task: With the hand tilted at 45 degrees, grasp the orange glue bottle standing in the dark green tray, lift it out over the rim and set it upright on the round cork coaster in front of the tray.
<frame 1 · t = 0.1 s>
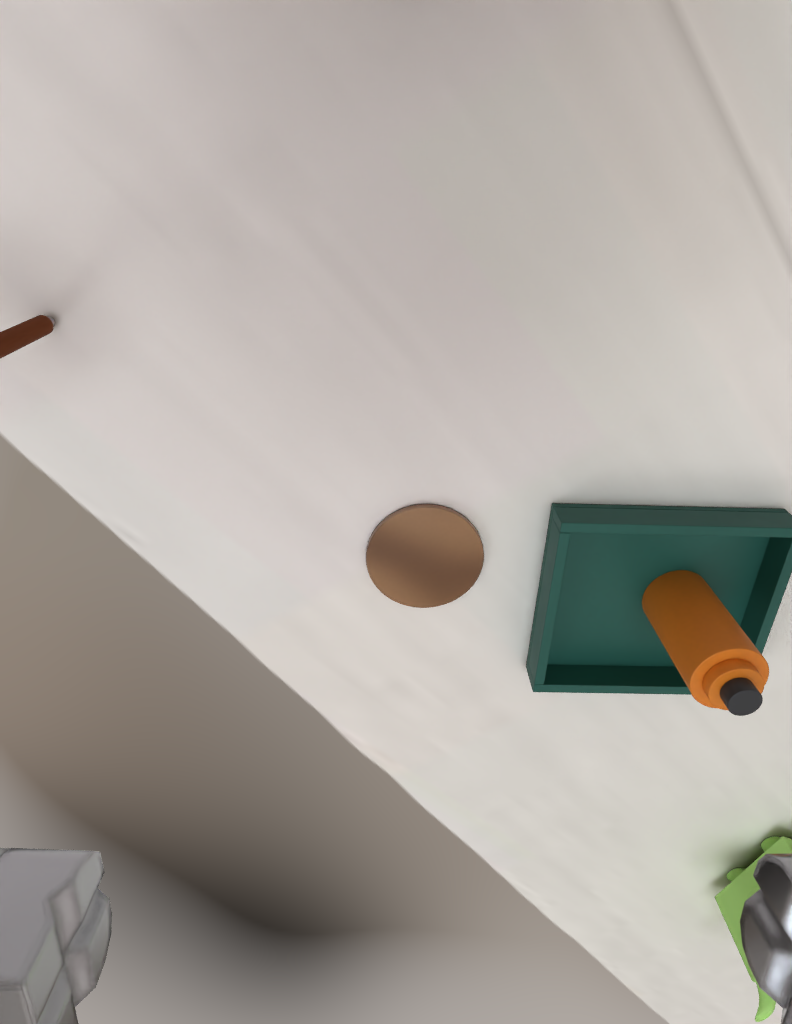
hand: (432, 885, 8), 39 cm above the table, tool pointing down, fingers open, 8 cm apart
glue bottle: (674, 597, 53), point 1 cm above the table, touching tray
kettle: (767, 864, 70), on the table
magnifying glass: (52, 320, 43), on the table
coaster: (424, 555, 51), on the table
tray: (647, 592, 53), on the table
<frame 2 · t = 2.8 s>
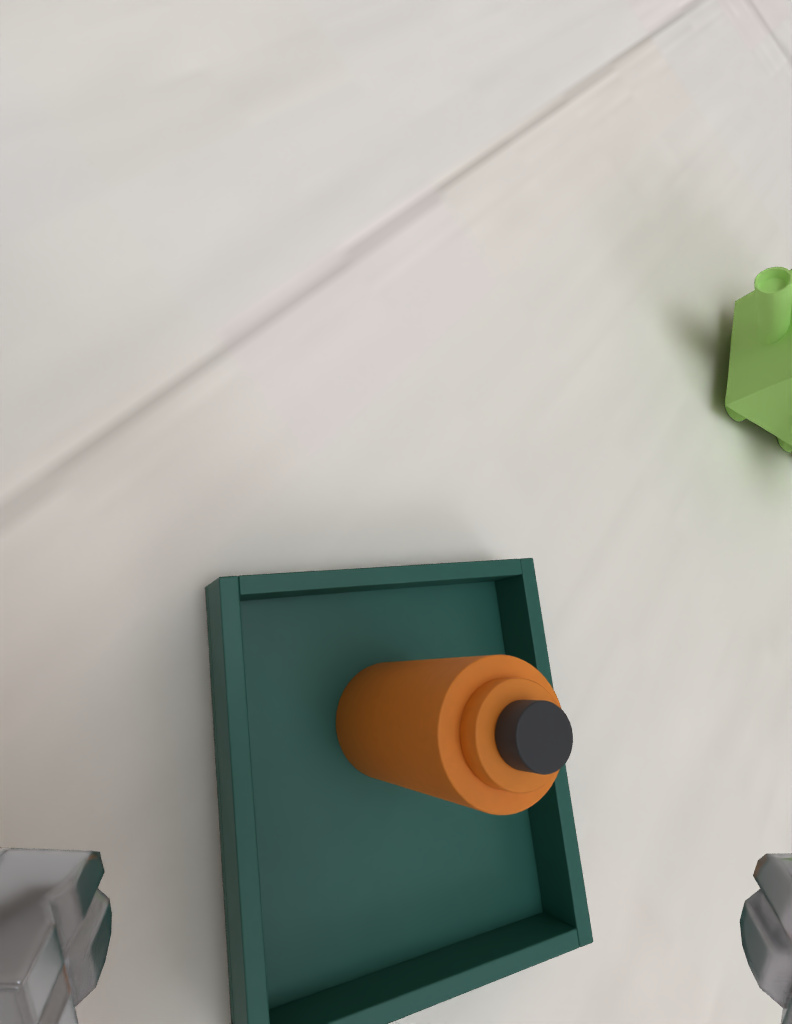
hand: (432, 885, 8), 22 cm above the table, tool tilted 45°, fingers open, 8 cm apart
glue bottle: (387, 719, 31), point 1 cm above the table, touching tray
kettle: (763, 401, 50), on the table
tray: (387, 763, 31), on the table
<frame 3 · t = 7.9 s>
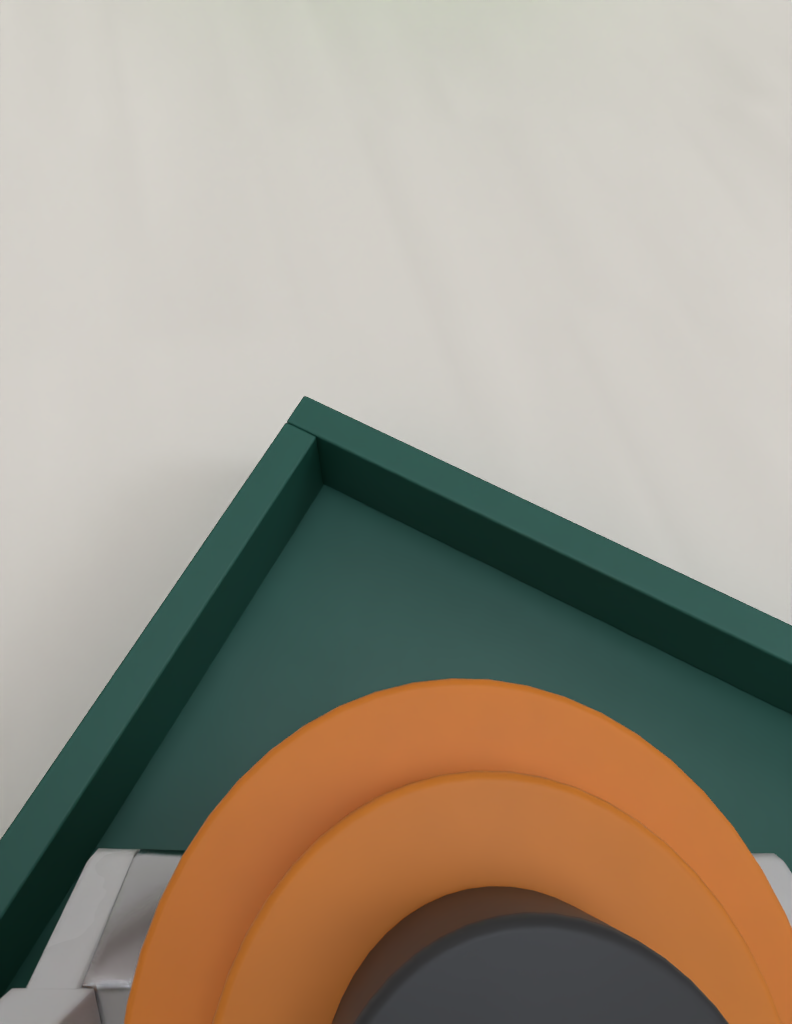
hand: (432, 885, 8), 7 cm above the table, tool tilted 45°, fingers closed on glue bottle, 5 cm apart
glue bottle: (410, 885, 14), point 1 cm above the table, touching gripper, tray
tray: (493, 932, 14), on the table
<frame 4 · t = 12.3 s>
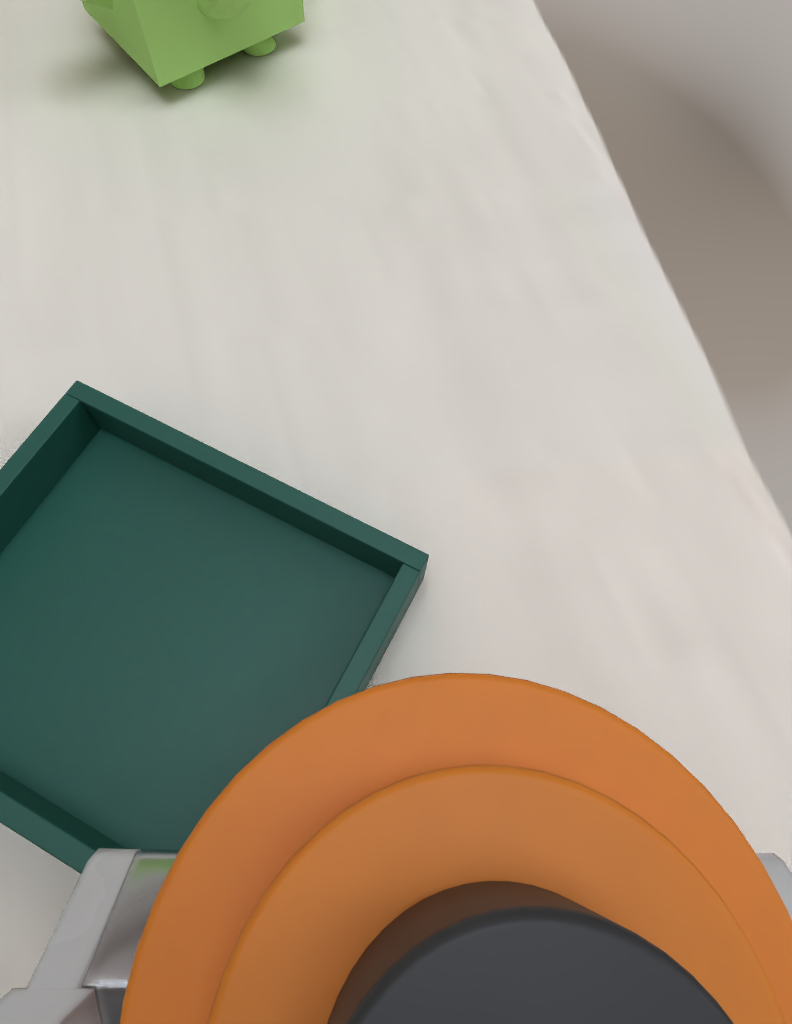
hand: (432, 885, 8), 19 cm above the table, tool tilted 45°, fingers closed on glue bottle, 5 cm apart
glue bottle: (409, 882, 14), point 13 cm above the table, touching gripper
kettle: (210, 44, 44), on the table
tray: (158, 639, 28), on the table
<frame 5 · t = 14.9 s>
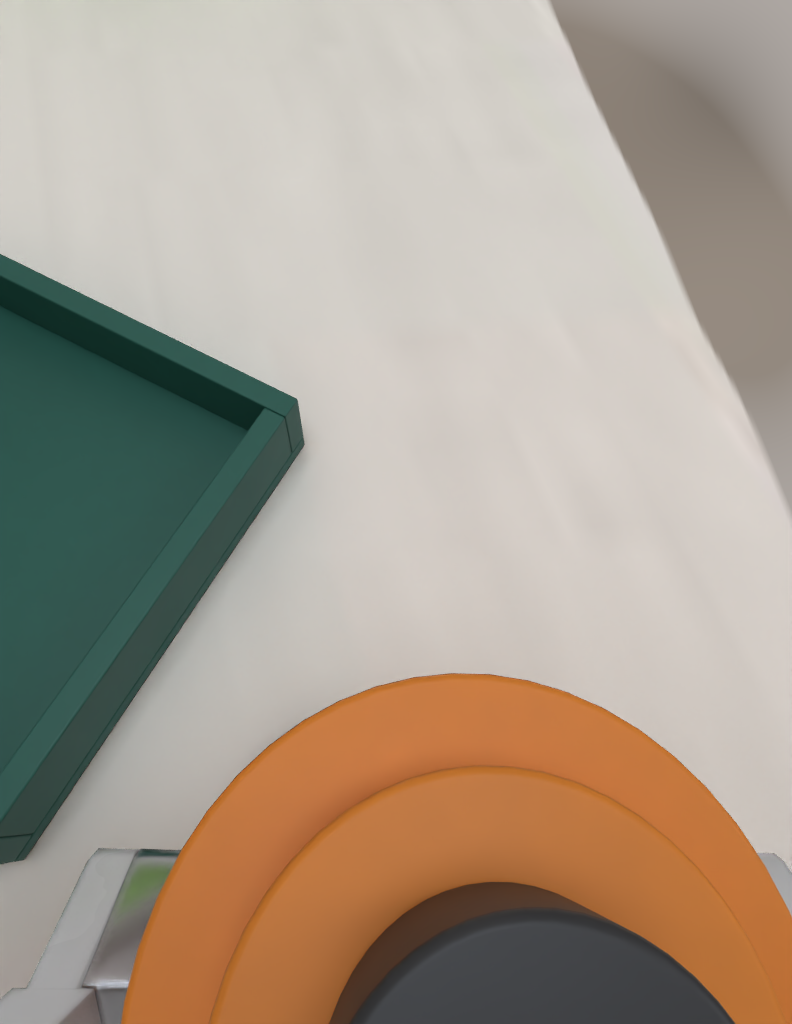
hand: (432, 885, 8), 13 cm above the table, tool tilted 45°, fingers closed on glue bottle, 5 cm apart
glue bottle: (410, 882, 14), point 7 cm above the table, touching gripper
when the fingers open (6 cm above the table, at t = 17.1 s): glue bottle stays where it is, resting on coaster.
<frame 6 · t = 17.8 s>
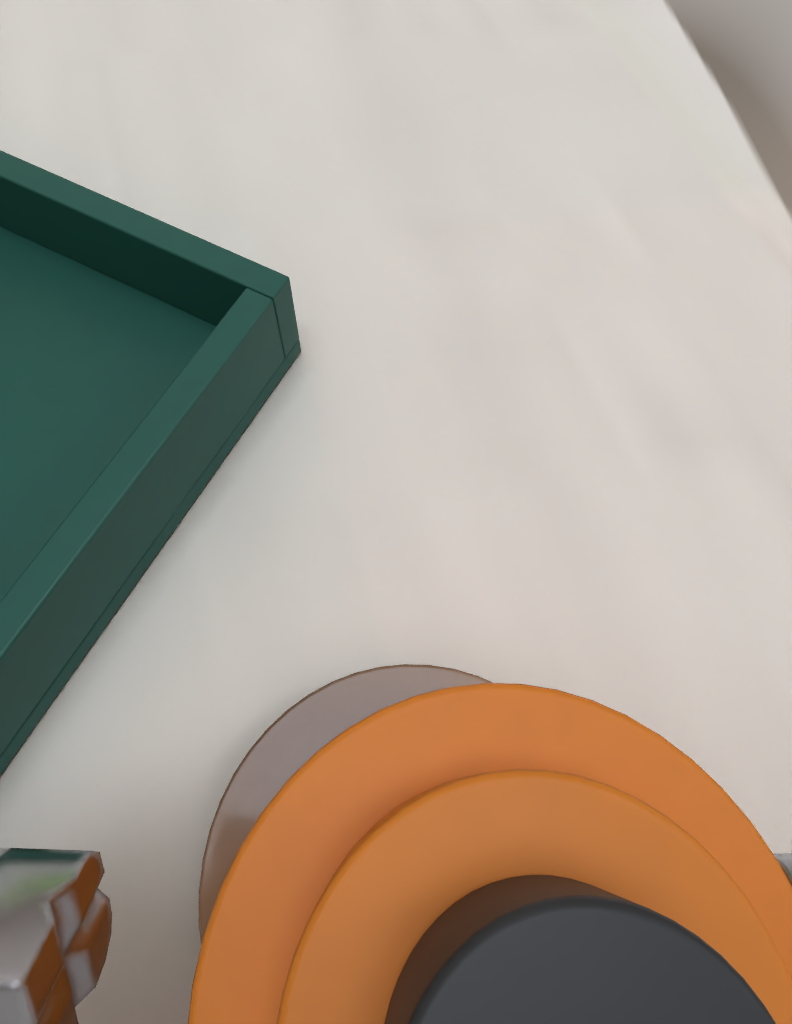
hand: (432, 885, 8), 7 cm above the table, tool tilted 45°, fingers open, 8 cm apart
glue bottle: (428, 880, 14), point 1 cm above the table, touching coaster
coaster: (413, 877, 15), on the table
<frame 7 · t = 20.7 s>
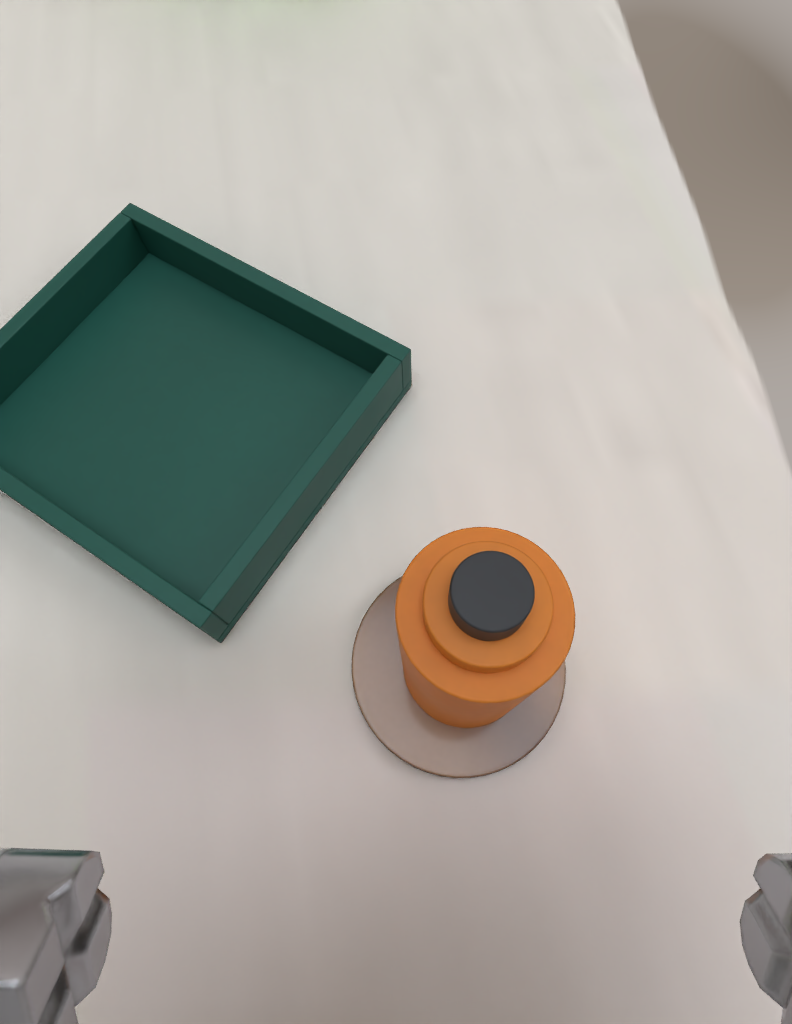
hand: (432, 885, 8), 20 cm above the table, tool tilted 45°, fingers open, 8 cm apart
glue bottle: (464, 663, 28), point 1 cm above the table, touching coaster
coaster: (457, 665, 29), on the table
tray: (182, 419, 34), on the table
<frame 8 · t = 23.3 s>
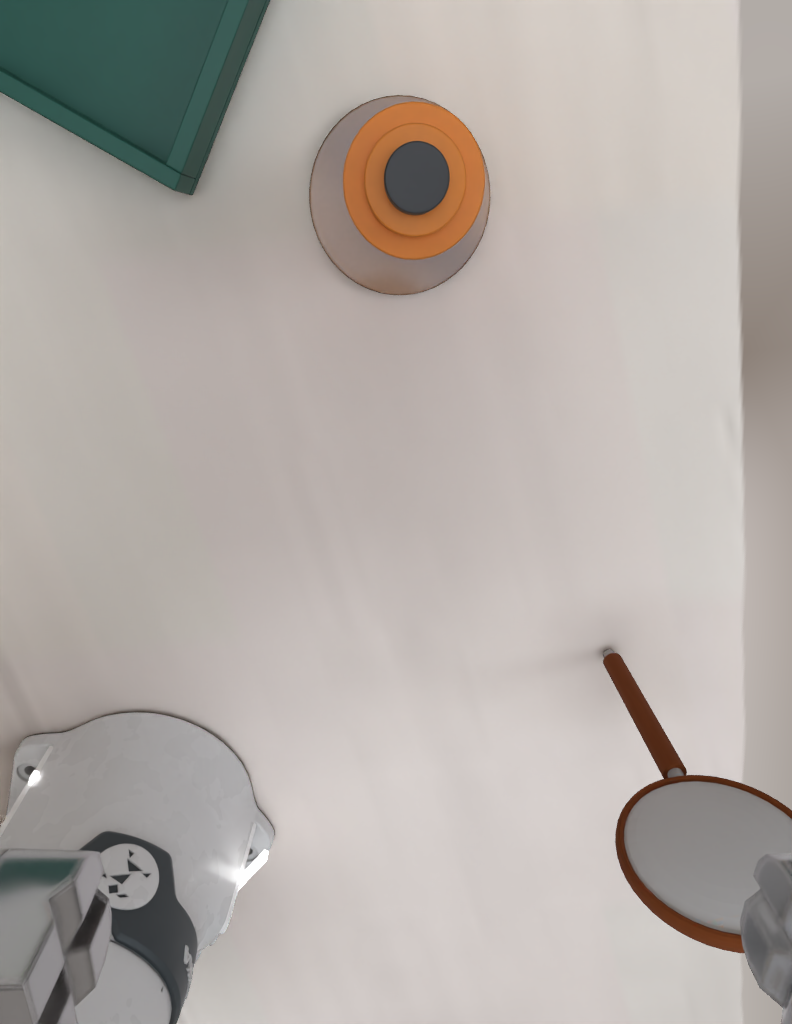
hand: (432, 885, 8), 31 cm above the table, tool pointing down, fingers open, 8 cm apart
glue bottle: (405, 200, 33), point 1 cm above the table, touching coaster
magnifying glass: (606, 650, 44), on the table
coaster: (399, 200, 34), on the table
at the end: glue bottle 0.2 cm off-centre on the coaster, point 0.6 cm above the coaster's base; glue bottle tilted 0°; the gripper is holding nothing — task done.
